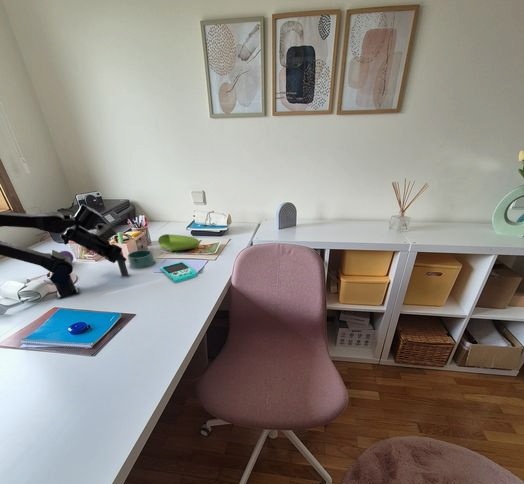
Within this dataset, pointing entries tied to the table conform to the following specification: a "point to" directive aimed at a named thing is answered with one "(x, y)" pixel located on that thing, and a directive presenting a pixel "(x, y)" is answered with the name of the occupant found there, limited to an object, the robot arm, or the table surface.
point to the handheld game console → (179, 271)
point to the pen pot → (141, 259)
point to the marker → (122, 267)
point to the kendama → (66, 255)
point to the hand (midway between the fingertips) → (124, 259)
